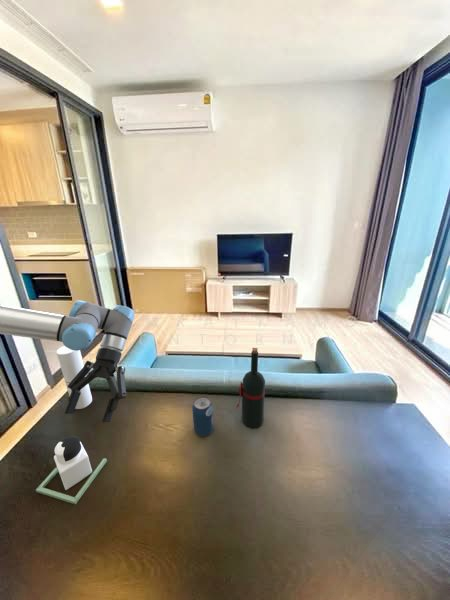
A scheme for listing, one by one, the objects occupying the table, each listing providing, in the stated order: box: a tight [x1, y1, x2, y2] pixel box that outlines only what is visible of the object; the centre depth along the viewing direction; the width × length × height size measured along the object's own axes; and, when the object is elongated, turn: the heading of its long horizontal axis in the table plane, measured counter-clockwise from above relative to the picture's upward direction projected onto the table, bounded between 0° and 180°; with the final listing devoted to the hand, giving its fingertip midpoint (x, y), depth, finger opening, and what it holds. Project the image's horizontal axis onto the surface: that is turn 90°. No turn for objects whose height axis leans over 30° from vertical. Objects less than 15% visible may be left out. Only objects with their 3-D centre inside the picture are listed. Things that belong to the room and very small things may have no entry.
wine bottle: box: [235, 347, 266, 430], centre depth 86 cm, size 8×10×30 cm
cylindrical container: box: [56, 345, 93, 410], centre depth 96 cm, size 7×7×25 cm
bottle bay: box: [35, 457, 108, 505], centre depth 73 cm, size 13×12×1 cm
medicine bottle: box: [53, 435, 93, 491], centre depth 72 cm, size 7×7×12 cm
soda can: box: [191, 396, 214, 437], centre depth 86 cm, size 7×7×12 cm
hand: (87, 417), depth 77 cm, fingers open, 13 cm apart
